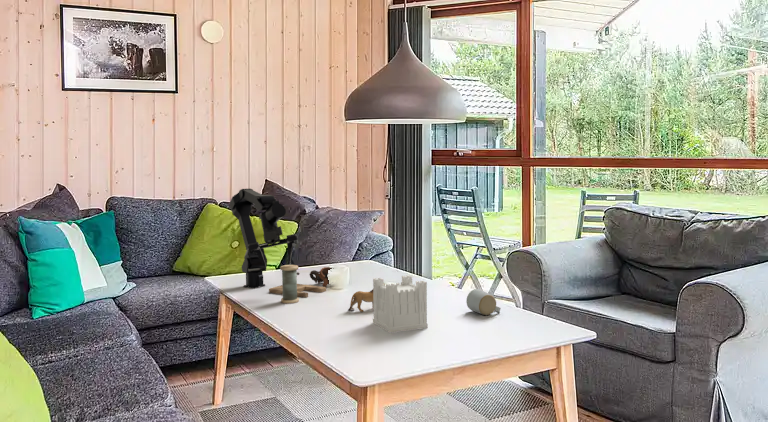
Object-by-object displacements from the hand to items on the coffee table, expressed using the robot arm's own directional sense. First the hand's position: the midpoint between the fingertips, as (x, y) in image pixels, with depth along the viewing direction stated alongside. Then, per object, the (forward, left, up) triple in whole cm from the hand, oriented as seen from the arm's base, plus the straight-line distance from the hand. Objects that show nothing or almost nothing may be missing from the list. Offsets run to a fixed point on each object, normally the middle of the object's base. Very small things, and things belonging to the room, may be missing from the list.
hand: (277, 265), depth 249 cm
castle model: (+61, -13, -12) cm, 64 cm away
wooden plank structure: (+1, +10, -12) cm, 16 cm away
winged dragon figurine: (+2, +26, -12) cm, 29 cm away
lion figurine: (+41, -1, -12) cm, 43 cm away
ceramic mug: (+78, +15, -12) cm, 80 cm away
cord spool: (+9, -5, -12) cm, 16 cm away
